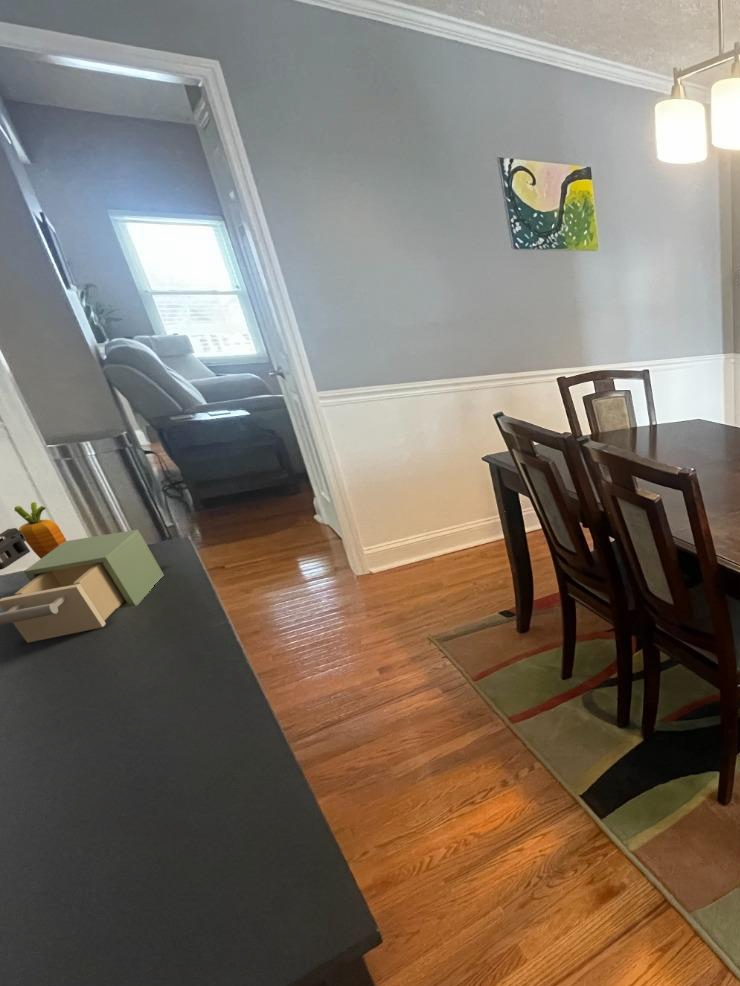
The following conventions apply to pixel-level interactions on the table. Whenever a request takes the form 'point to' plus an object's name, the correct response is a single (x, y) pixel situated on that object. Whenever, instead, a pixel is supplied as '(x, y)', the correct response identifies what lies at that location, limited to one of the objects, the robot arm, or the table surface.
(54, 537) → the carrot
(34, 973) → the table surface
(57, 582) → the drawer
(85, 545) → the cabinet
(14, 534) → the robot arm
